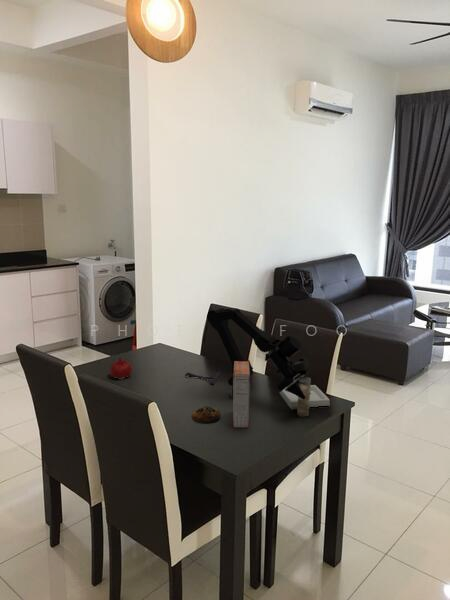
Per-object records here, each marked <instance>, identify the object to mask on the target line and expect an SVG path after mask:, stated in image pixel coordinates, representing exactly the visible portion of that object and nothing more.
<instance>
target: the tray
mask: <svg viewBox="0 0 450 600" xmlns="http://www.w3.org/2000/svg"><path fill="white" fill-rule="evenodd" d="M285 389H287V387H286V388H285ZM285 389H284V390H282V391H281V392H279V391H278V392H279V395H280V396H281V398H282V399H283V401H284V402H285V403H286V405H287V406H288V407H289V408H290V410H297V407H298V396H296V395H295V394H293V393H291V392H288V391H285ZM310 393H311V394H310V400H309V409H311V408H310V407H318V406H329V407H330V406H331V405H330V404H331V399H330V398H329V397H328V396H327V395H326V394H325V393H324V392H323V391H322V390H321V389H320V388H319V387H318V386H317V385H316V384H310Z"/></svg>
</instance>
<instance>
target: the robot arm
mask: <svg viewBox="0 0 450 600" xmlns="http://www.w3.org/2000/svg"><path fill="white" fill-rule="evenodd" d="M206 320H207V321H208V323H209V324H210V326H211V327H212V328H213V329H214V330H215V331H217V334H218V336H219V338H220V340H221V342H222V344H223V347H224V349H225V351H226V354H227V356H228V357H229V360H230V362H231V373H232V375H231V377H229V378H228V379H227V383H228V385H229V386H230V393H229V396H230V399H231V401H233V375H234V361H247V362H249V373H250V379H251V378H252V377H253V375H254V367H253V366H252V364H251V361H250V359H248V360H246V359H244V358H243V356H242V354H241V351H240V350H239V348H238V345H237V343H236V341H235V338H234V336H233V334H232V332H231V330H230V328H229V320H231V321H232V322H234V323H235V324H236V326H238V327H239V328H241V329H242V331H244V333H246V334H247V335H249V337H251V338H252V340H253V342H254V345H255V346H256V347H257V348H258V349H259V351H260V352H261V353H265V355H264V356H265V358H264V362H268V361H269V360H270V361H271V362H272V364H273V365H274V367H275V368H276V369H277V370H276V373H277V374H280V375H281V376H282V377H283V379H282V380H281V381H280V382H279V383H278V384H276V389H277V390H278V392H281V391H282V390H284V389H285V388H286V387H287V389H285V391H288V392H291V393H293V394H295V395H296V396H298V397H300V398H302V399H305V398H306V397H305V395H304V394H303V392H302V390H301V389H300V387H299V378H300V377H308V373H309V372H310V371H311V369H310V366H309V363H310V361H309V360H308V359H307V358H306V357H305V356H303V357H300V358H299V361H297V362H295V361H294V360H293V359H292V360H290V359H289V358H291V357H292V356H294V355H295V354H297V352H299V351H300V350H301V349H302V344H301V342H300V340H299V339H297V338H295V337H293V336H292V334H289V335H287V336H286V337H285V338H284V339H283V340H281V339H280V338H279V339H278V338H276V336H274V335H273V334H271V333H270V332H268V331H266V330H262V329H261V328H260V327H258V326H257V325H256V324H255V323H254V322H253V321H251V320H250V319H249V318H248V317H247V316H246V315H245V314H244V313H243V312H241V310H240V309H239V308H237V307H235V308H226V309H225V308H222V307H217V308H214V309H211V310H209V311H208V312H207V313H206ZM310 394H311V393H310Z"/></svg>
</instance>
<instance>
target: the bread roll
mask: <svg viewBox="0 0 450 600" xmlns="http://www.w3.org/2000/svg"><path fill="white" fill-rule="evenodd" d="M221 415H222V414H221V412H220V410H219V409H218V408H216V407H212V406H201V407H198V408H197V409H195V410H193V412H192V413H191V417H192V419H193V420H194V421H195V422H198V423H202V424H213V423H214V424H215V423H217V422H218V421H219V420H220V419H221Z"/></svg>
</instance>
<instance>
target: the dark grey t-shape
mask: <svg viewBox="0 0 450 600" xmlns="http://www.w3.org/2000/svg"><path fill="white" fill-rule="evenodd" d="M214 375H215V376H214ZM220 375H221V373H220V372H219V371H218V372H216V373H214V374H211V375H209V376H210V377H203V376H204V375H203V376H201V375H197V374H193V373H191V372H189V371H188V372H186V373H185V374H184V377H185V376H188V377H198V378H203V379H205V380H206V381H205V380H204V381H205V382H207V379H208V382H209V383H208V382H207V383H208V384H209V386H212V385H213V386H215V384H216V382H217V381H216V380H218V379H219V377H220ZM213 376H214V377H213ZM198 378H197V379H198ZM209 379H213V380H209Z"/></svg>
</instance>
